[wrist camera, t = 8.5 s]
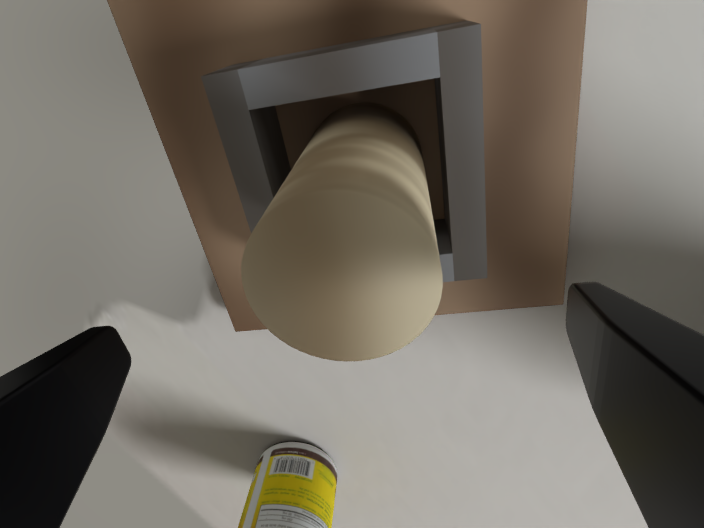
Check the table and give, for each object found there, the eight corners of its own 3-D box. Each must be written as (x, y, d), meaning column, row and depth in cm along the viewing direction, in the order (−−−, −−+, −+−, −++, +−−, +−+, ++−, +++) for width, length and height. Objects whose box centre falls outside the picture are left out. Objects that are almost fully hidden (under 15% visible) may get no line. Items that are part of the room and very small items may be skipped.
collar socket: (580, -145, 14) (653, -203, 10) (553, 286, 21) (587, 348, 18) (116, -34, 16) (29, -45, 12) (244, 314, 24) (215, 373, 20)
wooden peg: (415, 92, 16) (433, 175, 8) (427, 205, 18) (449, 353, 11) (297, 113, 17) (213, 206, 9) (322, 219, 19) (271, 367, 11)
